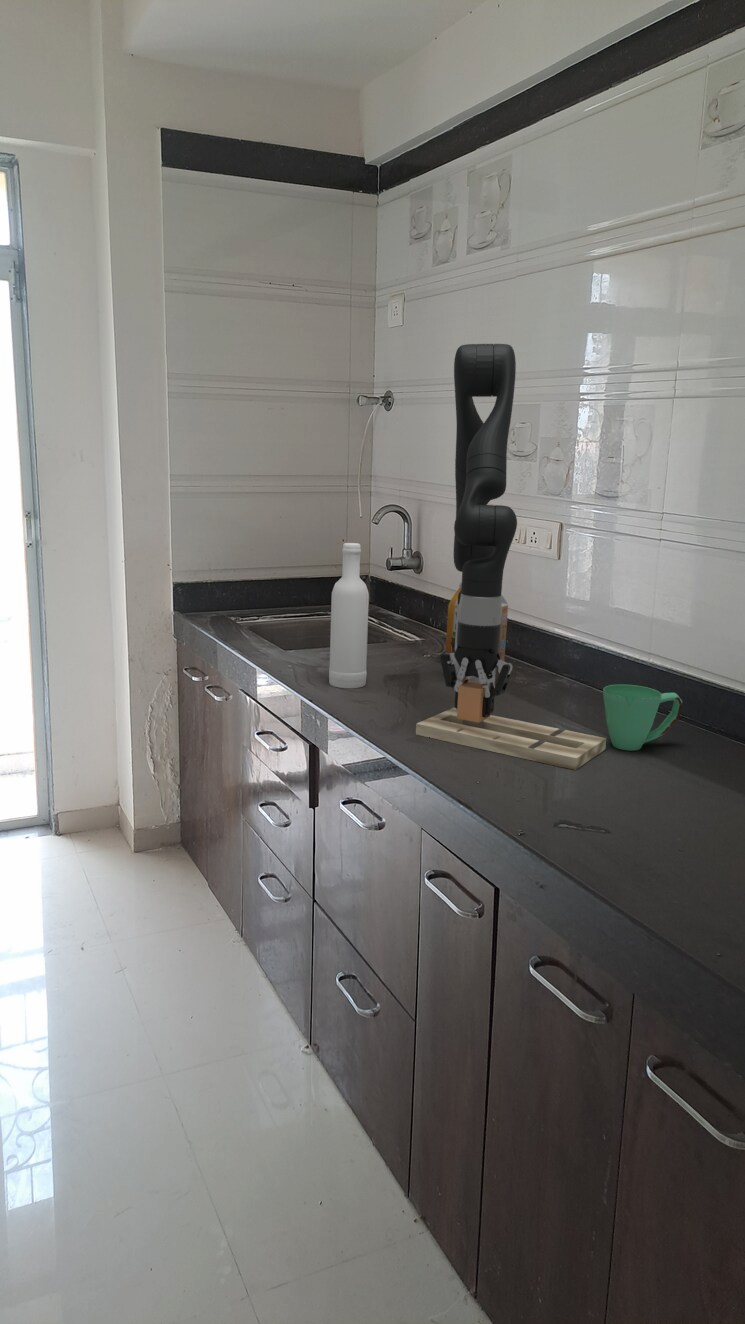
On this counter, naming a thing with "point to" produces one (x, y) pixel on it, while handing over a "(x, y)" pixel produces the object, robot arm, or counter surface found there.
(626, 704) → the mug
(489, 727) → the board
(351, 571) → the bottle
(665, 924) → the counter surface
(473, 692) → the fader knob
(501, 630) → the milk carton
